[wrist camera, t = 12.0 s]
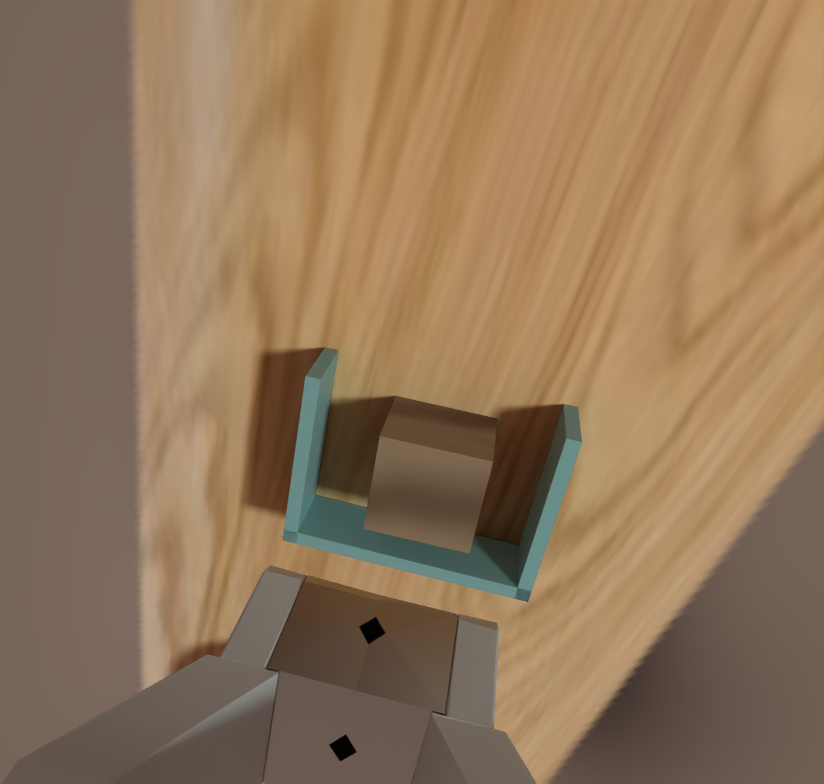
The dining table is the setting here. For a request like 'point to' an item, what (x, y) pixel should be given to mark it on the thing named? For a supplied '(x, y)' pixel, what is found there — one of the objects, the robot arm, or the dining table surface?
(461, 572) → the box
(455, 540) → the walnut tile block
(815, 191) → the dining table surface
